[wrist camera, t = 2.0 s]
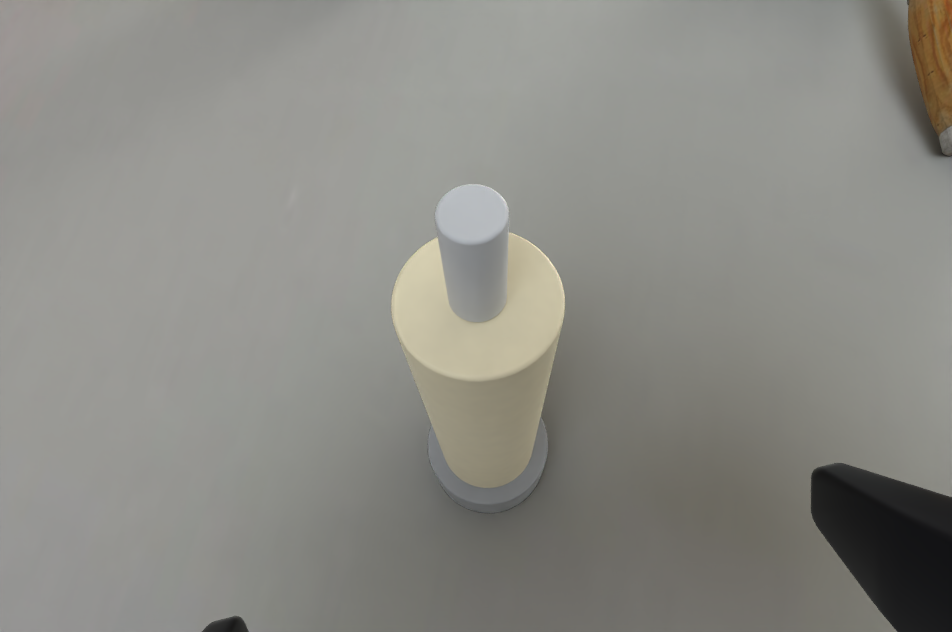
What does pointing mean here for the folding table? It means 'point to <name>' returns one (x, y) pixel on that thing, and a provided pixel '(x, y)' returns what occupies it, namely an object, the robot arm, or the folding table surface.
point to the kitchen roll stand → (481, 348)
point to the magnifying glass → (934, 62)
